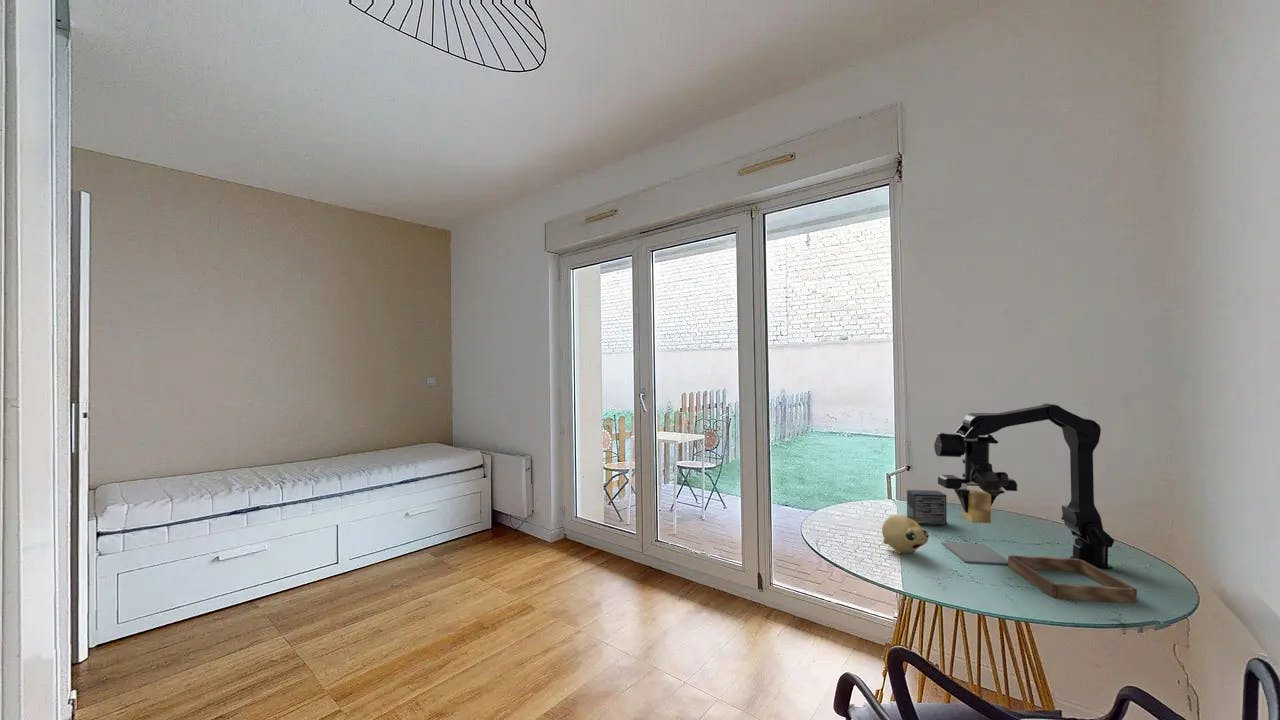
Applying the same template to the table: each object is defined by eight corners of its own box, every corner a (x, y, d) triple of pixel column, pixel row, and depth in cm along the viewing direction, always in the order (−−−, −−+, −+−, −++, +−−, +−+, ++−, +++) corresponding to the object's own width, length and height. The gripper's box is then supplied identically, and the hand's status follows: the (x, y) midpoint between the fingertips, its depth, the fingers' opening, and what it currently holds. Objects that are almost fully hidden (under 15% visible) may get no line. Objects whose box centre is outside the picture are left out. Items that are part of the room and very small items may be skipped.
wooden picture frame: (1080, 570, 135) (1080, 558, 135) (1138, 603, 117) (1138, 590, 117) (1007, 566, 137) (1007, 555, 137) (1053, 598, 119) (1053, 585, 119)
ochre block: (980, 517, 147) (981, 489, 147) (990, 523, 142) (991, 494, 142) (962, 516, 148) (962, 489, 148) (971, 522, 143) (971, 493, 143)
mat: (984, 545, 152) (984, 544, 151) (1012, 565, 138) (1012, 563, 138) (941, 543, 153) (941, 542, 153) (965, 562, 139) (965, 560, 139)
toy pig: (907, 563, 138) (907, 524, 138) (874, 547, 150) (875, 511, 150) (935, 559, 141) (936, 521, 141) (901, 543, 153) (902, 508, 153)
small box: (937, 520, 175) (938, 489, 175) (947, 526, 169) (947, 495, 168) (905, 519, 176) (906, 488, 176) (914, 525, 170) (914, 493, 169)
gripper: (956, 463, 138) (955, 520, 138) (1030, 465, 136) (1029, 523, 136) (937, 455, 149) (936, 508, 149) (1005, 456, 147) (1005, 510, 147)
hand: (976, 512), depth 145 cm, fingers closed on ochre block, 5 cm apart
